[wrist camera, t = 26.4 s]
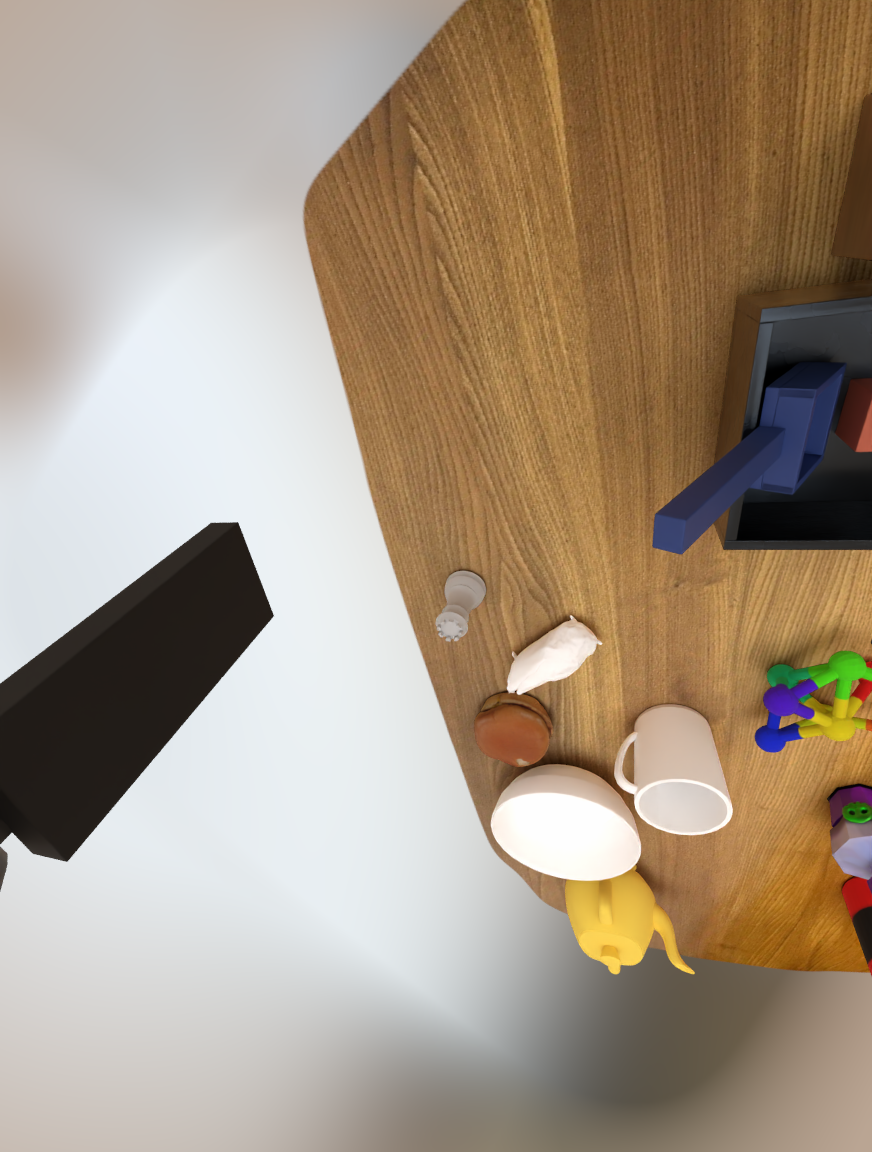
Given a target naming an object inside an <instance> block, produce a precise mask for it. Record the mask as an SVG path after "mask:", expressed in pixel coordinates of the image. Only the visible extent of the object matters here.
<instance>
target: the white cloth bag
mask: <svg viewBox="0 0 872 1152" xmlns="http://www.w3.org/2000/svg"><path fill="white" fill-rule="evenodd" d="M570 618H571V620H570V621H567V622H564V623H562V624H561V625H559V626H558V627H556V628H555V629H554V630H551V631H549V632H548V633H547V634H546V635H544V636H543V637H541V638H540V639H539V640H537V641H535V642H534V643H532V644H531V645H529V646H528V647H526V648H525V649H524V650H523V651H522V652H521V653H520V654H519V655H518V656H517V655H516V653H515V652H514V651H513V652H512V653H513V654H514V655H513V654H512V656H513V657H514V659H515V660H514V662H513V663H512V665H511V670H510V673H509V676H508V681H507V683H508V686H507V689H508V690H509V691H508V692H509V693H514V692H515V691H516V690H517V694H518V695H521V694H522V693H524V692H527V691H529V690H531V689H533V688H535V687H538V686H540V685H542V684H544V683H546V682H548V681H557V680H560V679H563V678H566V677H568V676H570V675H571V674H572V673H573V672H574V671H576V670H577V669H578V668H579V667H580V666H581V665H582V663H583V662H584V661H585V659H586V657H588V656H589V655H591V654H593V652H594V650H595V648H596V643H597V644H600V645H601V644H602V642H601V641H599V640H598V639H597V638H596V636H595V635H594V633H593V632H592V631H591V630H590V629H589V628H587V627H586V626H585V625H584V624H583V623H580V622H577V620H576V619H575V618H574V617H573V616H571V615H570Z"/></svg>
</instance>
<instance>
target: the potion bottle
mask: <svg viewBox="0 0 872 1152" xmlns="http://www.w3.org/2000/svg"><path fill="white" fill-rule="evenodd" d="M827 799H828V801H829V802H830V812H831V822H832V826H833V828H832V829H831V830H830V836H831V846H832V855H833V857H834V858H835V860H836V861H837V863H838V864H839V866H840V867H841V869H842V870H843V872H844V873H846V874H850V875H853V876H857V877H860V878H864V879H867V880H868V881H867V884H868V886H869V889H870V891H871V894H872V787H870V786H867V785H863V784H855V785H849V786H844V787H838V788H836V789H835V790H834V791H833V793H832V794H831V795H830V796H829V797H828V798H827Z"/></svg>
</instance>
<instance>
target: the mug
mask: <svg viewBox="0 0 872 1152" xmlns="http://www.w3.org/2000/svg"><path fill="white" fill-rule="evenodd" d="M633 741H634V784H632V783H630V782H629V781H628V780H627V779H626V778H625V777H624V774H623V772H622V765H623V760H624V756H625V753H626V751H627V748H628V747H629V745H630V744H631V743H632V742H633ZM614 777H615V779H616V781H617V784H618V785H619V786H620V787H621V788H622V789H623V790H625V791H627V792H629V793H632V794H634V804H635V809H636V811H637V813H638V814H639V816H640V817H641V818H642V819H643V820H645V821H646V822H647V823H648V824H650V825H652V826H654V827H656V828H657V829H660V830H663V831H666V832H669V833H675V834H680V835H699V834H706V833H710V832H713V831H716V830H718V829H720V828H722V827H724V826H725V825H726V824H727V823H728V822H729V821H730V819H731V816H732V814H733V812H732V804H731V800H730V796H729V793H728V789H727V786H726V782H725V779H724V775H723V771H722V768H721V764H720V761H719V757H718V754H717V750H716V747H715V743H714V739H713V736H712V732H711V729H710V725H709V724H708V722H707V720H706V719H705V718H704V717H703V716H702V715H701V714H700V713H699V712H697V711H695V710H693V709H692V708H689V707H686V706H683V705H676V704H662V705H658V706H654V707H651V708H649V709H647V710H645V711H644V712H643V713H642V714H640V715H639V717H638V718H637V720H636V721H635V726H634V732H633V733H631V734H630V735H628V737H627V738H626V739H625V740H624V742H623V743H622V745H621V747H620V749H619V751H618V754H617V758H616V762H615V772H614Z"/></svg>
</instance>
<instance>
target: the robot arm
mask: <svg viewBox="0 0 872 1152" xmlns="http://www.w3.org/2000/svg"><path fill="white" fill-rule="evenodd" d="M273 616H274V615H273V612H272V610H271V607H270V605H269V602H268V600H267V597H266V594H265V591H264V589H263V586H262V584H261V581H260V579H259V576H258V573H257V571H256V568H255V565H254V563H253V560H252V558H251V555H250V552H249V550H248V547H247V544H246V542H245V539H244V537H243V534H242V531H241V529H240V526H239V523H238V522H237V523H210V524H209V525H208V526H207V527H205V528H204V529H203V530H201V531H200V532H199V533H198V534H196V535H195V536H193V537H192V538H191V539H189V541H187V542H186V543H184V544H183V545H182V546H180V547H179V548H178V549H176V550H175V551H174V552H173V553H171V554H170V555H169V556H167V557H166V558H165V559H163V560H162V561H161V562H159V563H158V564H157V565H155V566H154V567H153V568H151V569H150V570H149V571H147V572H146V573H145V574H144V575H142V576H141V577H140V578H138V579H137V580H136V581H134V582H133V583H132V584H131V585H129V586H128V587H127V588H125V589H124V590H123V591H121V592H120V593H119V594H117V595H116V596H115V597H113V598H112V599H111V600H110V601H108V602H107V603H105V605H103V606H102V607H100V608H99V609H98V610H96V611H95V612H94V613H92V614H91V615H90V616H89V617H87V618H86V619H85V620H84V621H82V622H81V623H79V624H78V625H77V626H75V627H74V628H73V629H71V630H70V631H69V632H68V633H66V634H65V635H64V636H63V637H61V638H60V639H58V640H57V641H56V642H54V643H53V644H52V645H50V646H49V647H48V648H46V649H45V650H44V651H43V652H41V653H40V654H39V655H37V656H36V657H35V658H33V659H32V660H31V661H29V662H28V663H27V664H26V665H24V666H23V667H22V668H20V669H19V670H18V671H16V672H15V673H14V674H12V675H11V676H10V677H9V678H7V679H6V680H5V681H3V682H2V683H1V684H0V844H1V843H2V842H3V841H4V840H5V839H6V838H7V837H8V836H9V835H10V834H11V833H13V834H14V835H15V836H16V837H17V838H18V839H19V840H20V841H21V842H22V843H23V844H24V845H25V846H26V847H27V848H28V849H29V850H30V851H31V852H32V853H33V854H37V855H41V856H45V857H49V858H54V859H58V860H62V861H66V862H67V861H68V860H69V859H70V858H71V857H72V855H73V854H74V853H75V852H76V851H77V850H78V848H79V847H80V846H81V845H82V843H83V842H84V841H85V840H86V839H87V838H88V836H89V835H90V834H91V833H92V832H93V831H94V829H95V828H96V827H97V826H98V825H99V823H100V822H101V821H102V820H103V819H104V817H105V816H106V815H107V814H108V813H109V811H110V810H111V809H112V808H113V807H114V805H115V804H116V803H117V802H118V801H119V800H120V798H121V797H122V796H123V795H124V794H125V792H126V791H127V790H128V789H129V788H130V786H131V785H132V784H133V783H134V782H135V781H136V779H137V778H138V777H139V776H140V774H141V773H142V772H143V771H144V770H145V769H146V767H147V766H148V765H149V764H150V763H151V762H152V760H153V759H154V758H155V757H156V756H157V754H158V753H159V752H160V751H161V750H162V748H163V747H164V746H165V745H166V744H167V742H168V741H169V740H170V739H171V738H172V737H173V735H174V734H175V733H176V732H177V731H178V729H179V728H180V727H181V725H183V723H184V722H185V721H186V720H187V719H188V717H189V716H190V715H191V714H192V713H193V712H194V710H195V709H196V708H197V707H198V706H199V704H200V703H201V702H202V701H203V700H204V698H205V697H206V696H207V695H208V693H209V692H210V691H211V690H212V689H213V688H214V687H215V685H216V684H217V683H218V682H219V681H220V679H221V678H222V677H223V676H224V675H225V673H226V672H227V671H228V670H229V669H230V667H231V666H232V665H233V664H234V663H235V662H236V660H237V659H238V658H239V657H240V655H241V654H242V653H243V652H244V651H245V650H246V649H247V647H248V646H249V645H250V643H251V642H252V641H253V640H254V639H255V638H256V637H257V635H258V634H259V633H260V632H261V631H262V629H263V628H264V627H265V626H266V625H267V624H268V622H269V621H270V620H271V619H272V618H273ZM871 644H872V640H871ZM6 868H7V853H6V852H5V851H4V850H3V849H2V848H1V847H0V890H1V886H2V883H3V879H4V875H5V872H6Z"/></svg>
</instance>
